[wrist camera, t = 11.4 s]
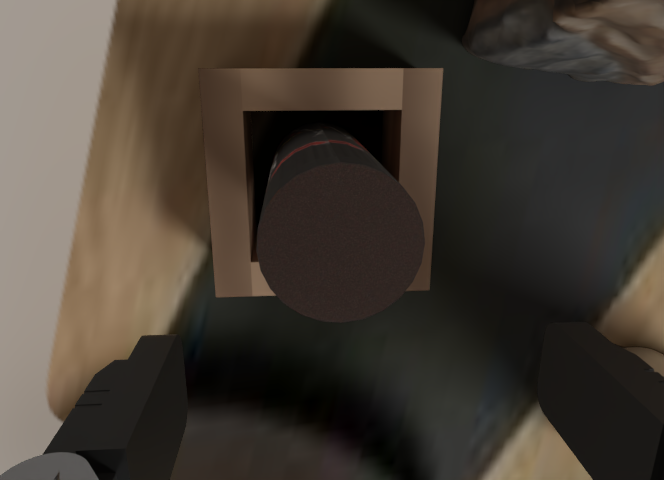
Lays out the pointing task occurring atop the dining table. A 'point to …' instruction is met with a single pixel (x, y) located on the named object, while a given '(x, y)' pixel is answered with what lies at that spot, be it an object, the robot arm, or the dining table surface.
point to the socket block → (301, 95)
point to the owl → (572, 37)
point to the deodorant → (336, 228)
